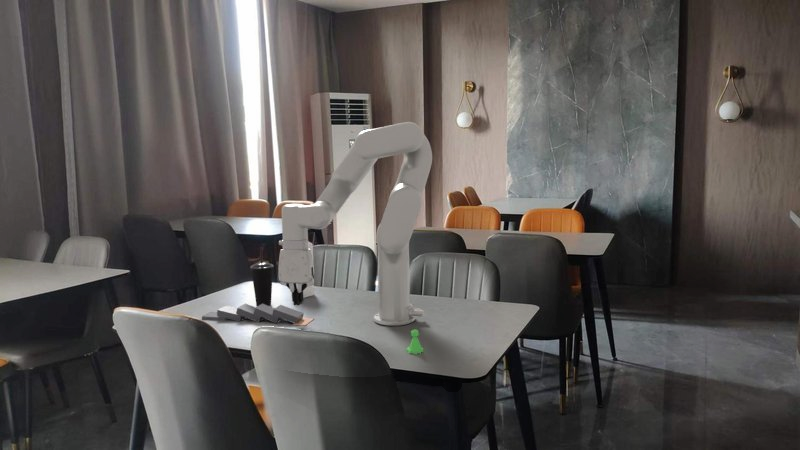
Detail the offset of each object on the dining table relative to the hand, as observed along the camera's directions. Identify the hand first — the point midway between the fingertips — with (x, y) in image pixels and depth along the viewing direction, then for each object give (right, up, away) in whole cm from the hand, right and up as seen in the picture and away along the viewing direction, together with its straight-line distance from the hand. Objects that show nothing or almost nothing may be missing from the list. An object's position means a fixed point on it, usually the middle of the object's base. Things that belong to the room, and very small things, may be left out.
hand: (298, 304), depth 184 cm
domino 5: (+1, -4, +1) cm, 5 cm away
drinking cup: (-15, -3, +21) cm, 26 cm away
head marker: (+2, -6, 0) cm, 6 cm away
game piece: (+35, -9, -27) cm, 45 cm away
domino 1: (-23, -5, +6) cm, 24 cm away
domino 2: (-18, -4, +5) cm, 19 cm away
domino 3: (-11, -5, +3) cm, 13 cm away
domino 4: (-6, -5, +2) cm, 8 cm away
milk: (-4, -1, +33) cm, 34 cm away
